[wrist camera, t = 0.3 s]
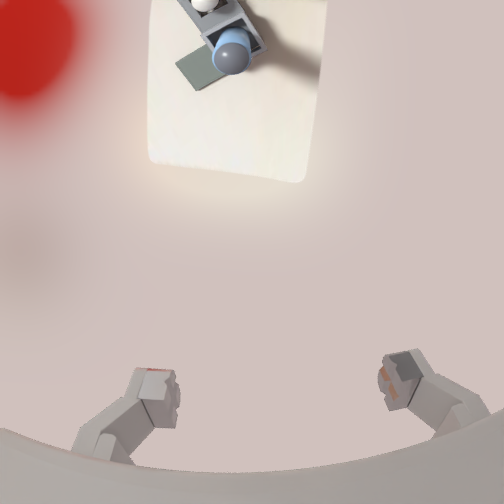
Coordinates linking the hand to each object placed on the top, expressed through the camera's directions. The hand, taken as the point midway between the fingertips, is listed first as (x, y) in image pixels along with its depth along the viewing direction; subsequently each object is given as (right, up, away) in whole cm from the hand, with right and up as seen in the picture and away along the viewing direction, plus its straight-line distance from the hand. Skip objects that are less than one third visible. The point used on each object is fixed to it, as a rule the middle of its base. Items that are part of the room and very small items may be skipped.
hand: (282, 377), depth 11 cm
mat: (-10, +38, +36) cm, 54 cm away
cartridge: (-4, +40, +31) cm, 51 cm away
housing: (-6, +44, +29) cm, 53 cm away
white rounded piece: (-8, +45, +24) cm, 52 cm away
